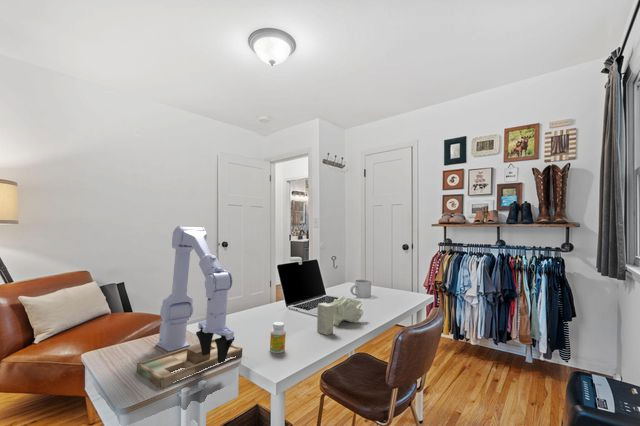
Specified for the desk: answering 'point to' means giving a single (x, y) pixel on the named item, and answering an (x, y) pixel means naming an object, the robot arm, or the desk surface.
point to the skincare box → (325, 318)
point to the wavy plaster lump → (346, 310)
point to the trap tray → (179, 365)
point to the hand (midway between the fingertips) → (213, 357)
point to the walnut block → (196, 355)
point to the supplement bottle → (277, 338)
